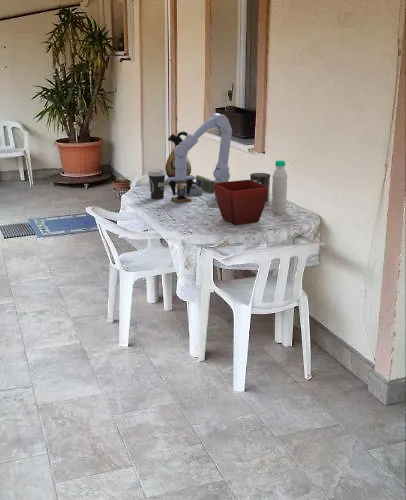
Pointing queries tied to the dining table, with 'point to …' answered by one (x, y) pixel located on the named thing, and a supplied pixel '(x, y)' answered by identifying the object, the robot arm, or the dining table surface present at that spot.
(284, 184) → the water bottle
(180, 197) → the battery cell
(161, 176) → the coffee cup
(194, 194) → the cell bin
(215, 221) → the dining table surface
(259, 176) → the coffee can
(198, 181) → the handheld radio
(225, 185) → the plant pot
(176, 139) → the ceramic jug
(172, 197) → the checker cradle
